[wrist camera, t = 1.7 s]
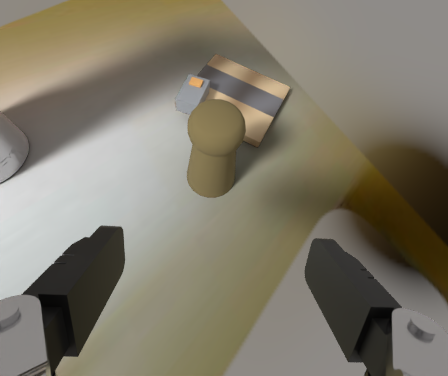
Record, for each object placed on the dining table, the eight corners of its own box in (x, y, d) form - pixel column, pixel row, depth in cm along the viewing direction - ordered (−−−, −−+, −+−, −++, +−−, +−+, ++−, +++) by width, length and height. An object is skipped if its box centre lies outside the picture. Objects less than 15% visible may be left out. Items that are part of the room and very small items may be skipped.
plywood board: (175, 107, 33) (175, 101, 32) (215, 60, 38) (215, 53, 37) (257, 147, 31) (259, 142, 30) (287, 93, 36) (290, 87, 35)
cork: (183, 157, 30) (177, 89, 20) (229, 152, 31) (245, 85, 21) (190, 201, 27) (186, 148, 17) (239, 194, 28) (262, 141, 18)
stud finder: (176, 110, 31) (174, 97, 29) (189, 85, 33) (189, 71, 31) (197, 116, 31) (197, 104, 29) (209, 91, 33) (210, 78, 31)
